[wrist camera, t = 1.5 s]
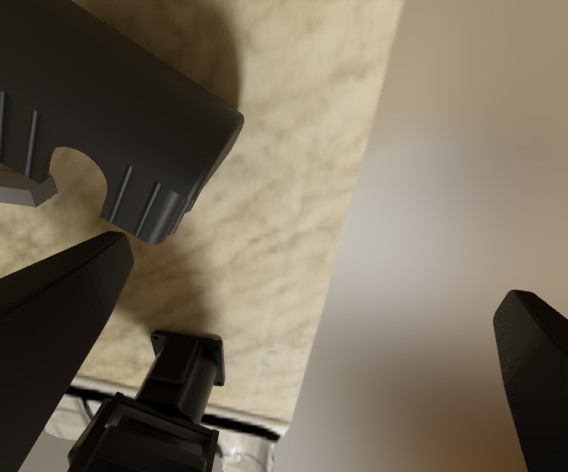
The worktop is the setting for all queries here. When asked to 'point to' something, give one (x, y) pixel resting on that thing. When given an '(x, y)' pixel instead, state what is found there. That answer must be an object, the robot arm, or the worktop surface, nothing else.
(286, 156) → the worktop surface
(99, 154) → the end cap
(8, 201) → the frame
